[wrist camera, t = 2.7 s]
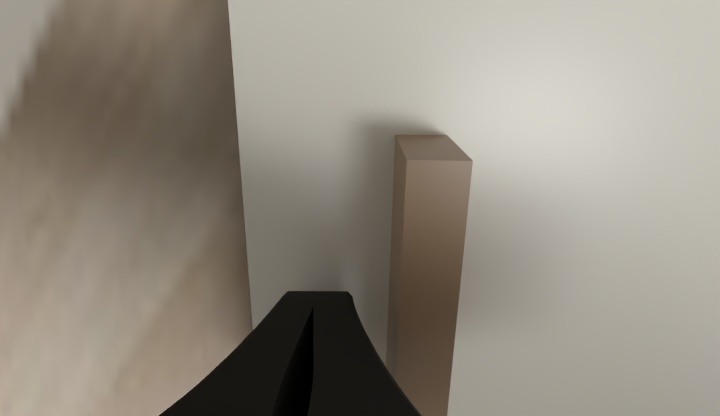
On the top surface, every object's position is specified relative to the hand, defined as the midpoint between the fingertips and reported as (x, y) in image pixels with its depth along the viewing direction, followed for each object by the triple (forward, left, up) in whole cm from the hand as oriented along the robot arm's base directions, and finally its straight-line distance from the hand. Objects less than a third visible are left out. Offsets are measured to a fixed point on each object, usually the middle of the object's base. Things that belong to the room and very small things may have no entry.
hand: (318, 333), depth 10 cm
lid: (-5, 0, -1) cm, 5 cm away
